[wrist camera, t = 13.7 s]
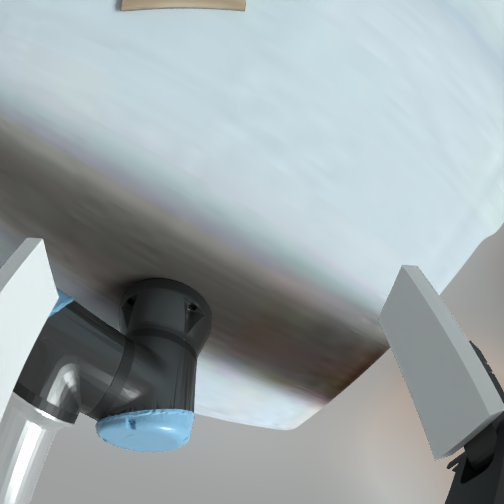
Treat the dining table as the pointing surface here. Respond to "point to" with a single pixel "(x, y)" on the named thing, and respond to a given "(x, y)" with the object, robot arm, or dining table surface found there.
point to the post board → (183, 4)
